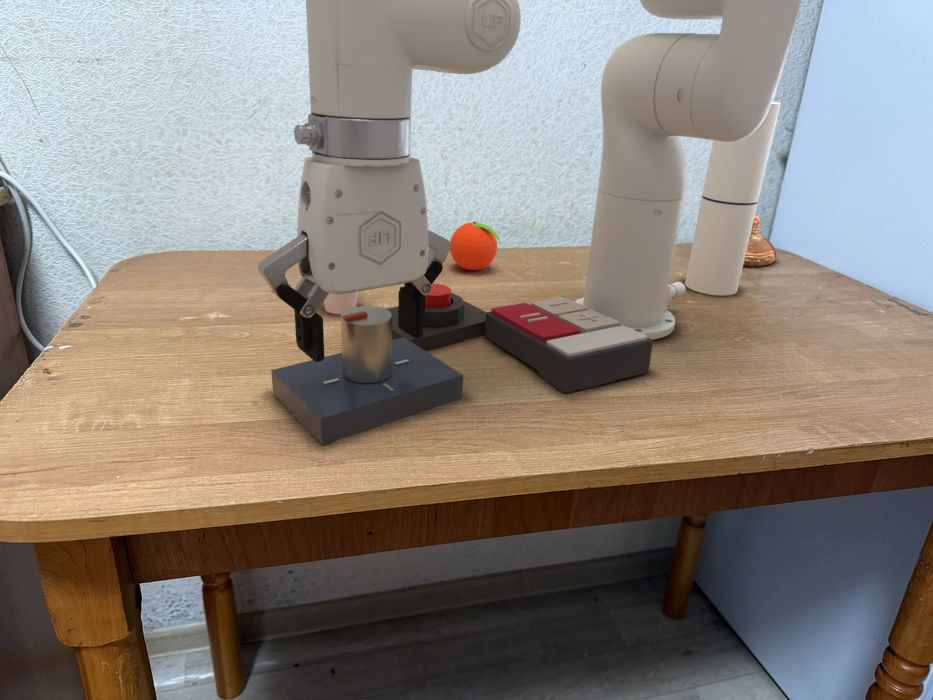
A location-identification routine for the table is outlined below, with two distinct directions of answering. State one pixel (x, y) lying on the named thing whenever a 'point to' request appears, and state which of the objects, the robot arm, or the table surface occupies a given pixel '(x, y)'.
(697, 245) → the cylindrical container
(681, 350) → the table surface
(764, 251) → the bell
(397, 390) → the panel
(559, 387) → the calculator
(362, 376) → the knob
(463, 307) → the button block
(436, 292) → the button
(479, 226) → the clementine
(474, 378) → the table surface
